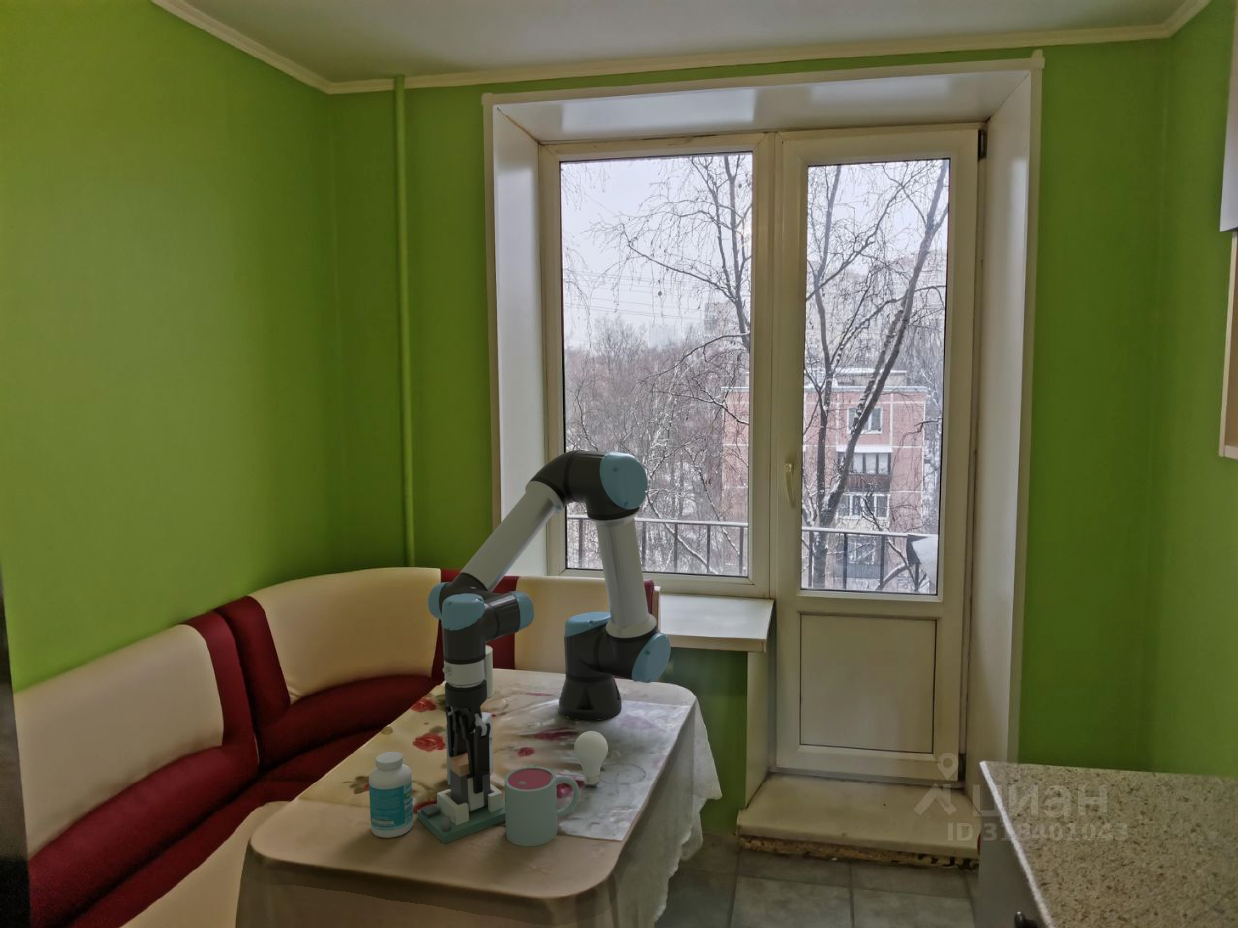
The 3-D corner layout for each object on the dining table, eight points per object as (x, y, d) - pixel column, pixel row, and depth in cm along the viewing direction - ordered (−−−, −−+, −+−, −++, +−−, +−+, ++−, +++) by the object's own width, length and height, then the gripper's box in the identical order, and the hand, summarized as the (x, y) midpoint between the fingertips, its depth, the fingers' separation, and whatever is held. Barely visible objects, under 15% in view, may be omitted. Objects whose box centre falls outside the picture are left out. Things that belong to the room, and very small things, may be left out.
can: (450, 694, 217) (448, 648, 215) (480, 684, 223) (479, 639, 221) (470, 704, 210) (468, 657, 208) (501, 694, 216) (499, 648, 215)
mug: (513, 850, 146) (511, 795, 145) (500, 824, 155) (498, 771, 154) (588, 833, 151) (587, 779, 150) (571, 808, 160) (570, 757, 159)
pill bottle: (414, 835, 151) (411, 763, 150) (371, 843, 149) (367, 769, 148) (412, 814, 158) (409, 745, 157) (371, 821, 156) (367, 751, 155)
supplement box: (482, 788, 168) (479, 727, 166) (446, 785, 169) (444, 724, 168) (494, 771, 175) (492, 711, 174) (460, 768, 177) (458, 709, 175)
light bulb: (613, 780, 170) (612, 727, 169) (601, 796, 164) (600, 741, 163) (582, 775, 173) (581, 723, 171) (569, 791, 166) (568, 737, 165)
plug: (480, 794, 161) (478, 748, 160) (491, 802, 158) (489, 756, 157) (451, 804, 157) (449, 758, 156) (461, 813, 154) (459, 766, 153)
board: (484, 793, 166) (484, 771, 165) (513, 817, 157) (513, 793, 157) (417, 817, 157) (416, 794, 157) (444, 843, 149) (443, 819, 148)
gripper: (426, 672, 159) (431, 791, 162) (469, 699, 146) (474, 828, 149) (462, 663, 164) (466, 778, 167) (507, 689, 150) (511, 814, 153)
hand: (470, 802), depth 158 cm, fingers closed on plug, 4 cm apart
